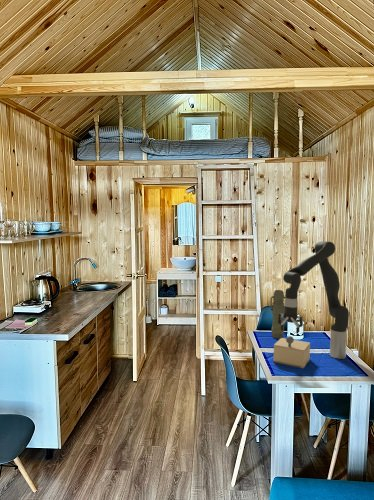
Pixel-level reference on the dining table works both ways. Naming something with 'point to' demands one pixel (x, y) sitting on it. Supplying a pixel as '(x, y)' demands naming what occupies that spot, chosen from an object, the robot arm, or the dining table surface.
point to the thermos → (277, 313)
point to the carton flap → (292, 344)
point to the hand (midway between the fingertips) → (289, 332)
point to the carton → (291, 356)
